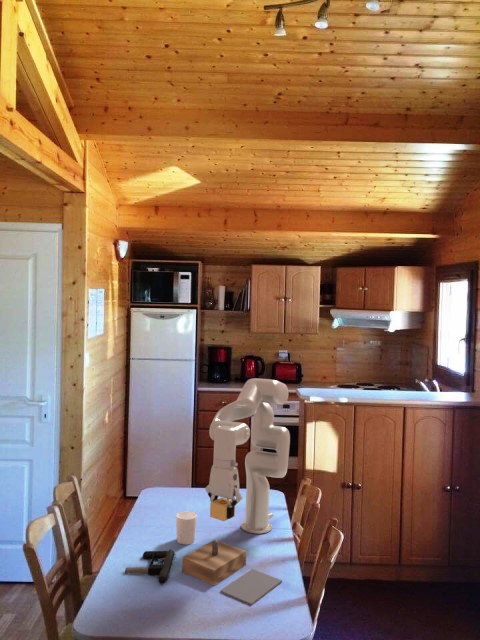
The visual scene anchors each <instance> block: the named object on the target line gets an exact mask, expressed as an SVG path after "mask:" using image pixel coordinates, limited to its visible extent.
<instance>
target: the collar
mask: <svg viewBox="0 0 480 640" xmlns="http://www.w3.org/2000/svg"><path fill="white" fill-rule="evenodd" d="M209 503H210V508H209V509H210V510H209V512H210V513H209V516H210V518H213V519H215V520H219V521H222V522H225V521H227V520H229V519H227V507H229V506H228V502H227V499H226V498H223V497H220V498H219V497H218V499H217V500H215V501H212V502H211V501H210V502H209ZM231 503H232V500H231ZM235 516H236V506H234V517H235Z"/></svg>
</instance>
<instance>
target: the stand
mask: <svg viewBox="0 0 480 640" xmlns="http://www.w3.org/2000/svg"><path fill="white" fill-rule="evenodd" d="M181 559H182V561H181V562H182V563H181V572H182V573H184V574H186V575H188V576H190V577H193V578H195V579H198V580H200V581H202V582H205V583H207V584H209V585H211V586H216V585H217V584H219V583H220V582H222V581H223V580H225V579H227V578H228V577H230V576H231V575H233V574H235V573H236V572H237V571H239V570H240V569H242V568H244V567H245V566H247V550H245V549H242V548H239V547H236V546H234V545H231V544H228V543H226V542H222V541H219V540H217V539H214V540H212V541H211V542H209V543H207V544H205V545H203V546H201V547H200V548H196V549H195V550H193V551H192V552H190V553H188V554H186V555H185V556H182V558H181Z"/></svg>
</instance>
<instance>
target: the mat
mask: <svg viewBox="0 0 480 640" xmlns="http://www.w3.org/2000/svg"><path fill="white" fill-rule="evenodd" d="M282 582H283V580H282V579H279V578H278V577H274V576H271V575H269V574H266V573H264V572H261V571H258V570H256V569H253V568H251V569H250V570H249V571H247V572H246V573H244V574H242V575H241V576H240V577H238V578H237V579H235V580H233V581H232V582H231V583H229V584H228V585H226V586H224V587H223V588H221V589H220V591H219V592H220V593H221V594H223V595H226V596H228V597H231V598H232V599H235V600H237V601H240V602H242V603H244V604H247V605H249V606H253V605H254V604H256V603H257V602H258V601H259V600H260V599H262V598H264V597H265V596H266V595H267V594H268V593H270V592H271V591H273V589H275V588H277V587H278V586H279V585H280V584H282Z"/></svg>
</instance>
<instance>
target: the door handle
mask: <svg viewBox="0 0 480 640" xmlns="http://www.w3.org/2000/svg"><path fill="white" fill-rule="evenodd" d="M176 556H177V553H175V550H173V549H168V550H145V551H144V552H143V553H142V558H143V559H144V560H150V563H149V565H148V566H145V567H143V566H141V567H140V566H136V567H135V566H134V567H133V566H132V567H125V569H124V573H125V574H128V575H129V574H130V575H132V574H133V575H148V576H150V577H151V576H155V577H158V582H159V584H163V585H164V584H165V583H166V582H167V581H168V580H169V576H171V571H172V567H173V564H174V562H173V561H174V559H175V557H176ZM155 560H156V562H161V561H163V563H161V564H160V563H158V564H157V563H154V562H155Z"/></svg>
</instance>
